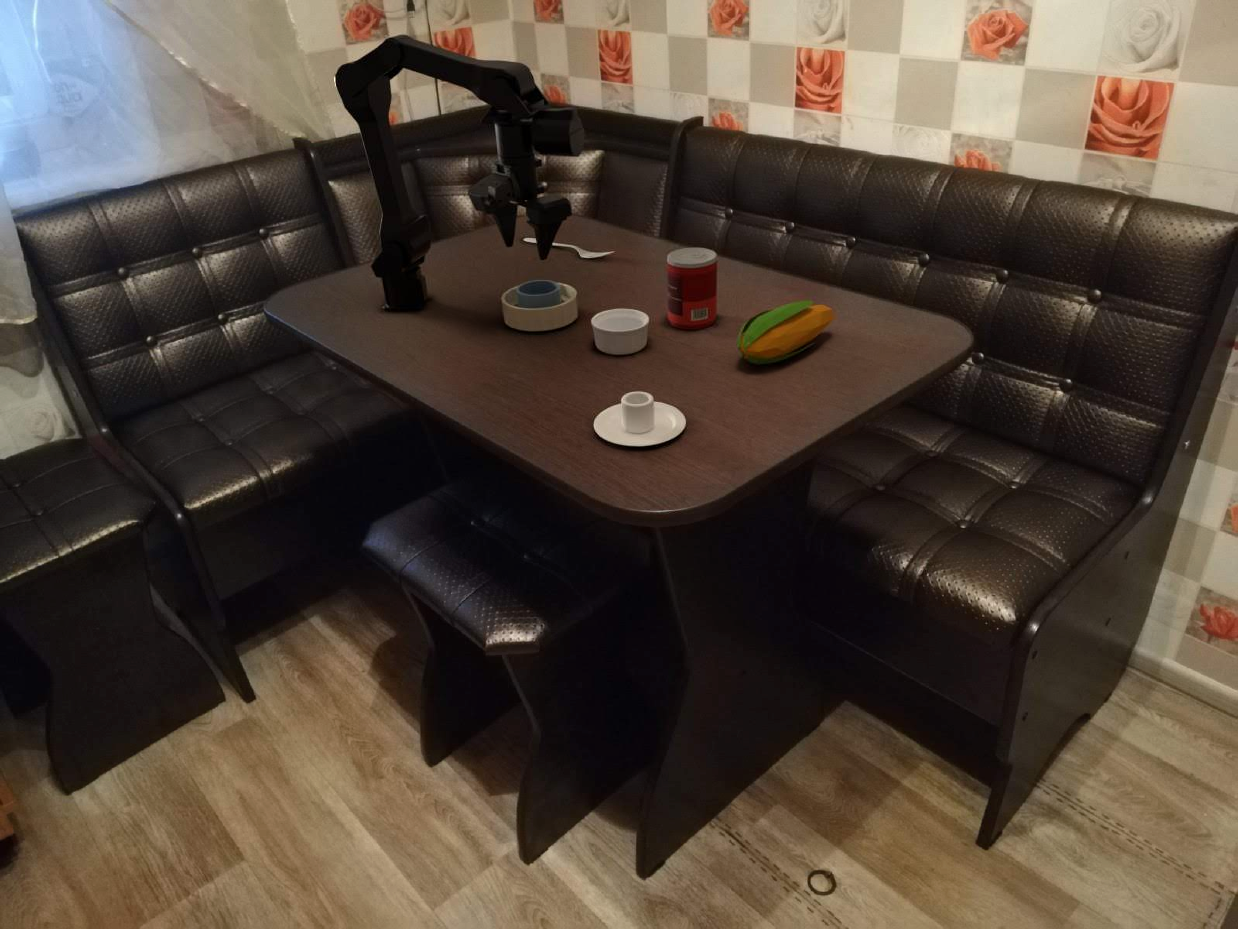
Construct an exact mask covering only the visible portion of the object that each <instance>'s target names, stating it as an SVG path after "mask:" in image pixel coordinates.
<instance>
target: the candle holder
mask: <svg viewBox="0 0 1238 929" xmlns="http://www.w3.org/2000/svg"><path fill="white" fill-rule="evenodd" d="M654 399H655V398H654V396H653V395H652V394H651V393H649V392H645V391H631V392H628V393H625V394H624V395H622V397H621V399H620V403H618V404H615V405H611V406H609V407H608V408H606V409H604V410H602V411H601V412H600V413H599V414H598V415H597V416H596V417H595V418H594V421H593V428H594V431H595V433H597V435H598V436H599V437H600V438H602V439H603V440H605V441H607V442H609V443H612V444H616V445H621V446H627V447H648V446H654V445H659V444H663V443H666V442H668V441H670V440H673V439H675V438H676V437H677V436H679V435H680V434H681V433H682V432H683V431H684V429H685V428H686V425H687V420H686V416H685V414H683V412H682V411H680V410H679V409H678V408H677V407H675V406H673V405H671V404H667V403H664V402H660V401H655V400H654Z"/></svg>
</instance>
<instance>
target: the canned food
mask: <svg viewBox="0 0 1238 929" xmlns="http://www.w3.org/2000/svg"><path fill="white" fill-rule="evenodd" d="M666 258H667V259H666V278H667V279H666V282H667V284H666V286H667V318H668V321H669V323H670V325H671V326H672V327H674V328H677V329H681V330H688V331H690V330H691V331H692V330H694V331H695V330H701V329H705V328H708V327H710V326H711V325H713V324H714V323H715V322H716V318H717V305H718V304H717V303H718V302H717V301H718V300H717V299H718V296H717V295H718V294H717V292H718V255H717V253H716V252H715V251H714V250H712V249H709V248H706V247H683V248H679V249H676V250H672V251H671V252H669V254H667V257H666Z"/></svg>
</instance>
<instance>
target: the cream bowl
mask: <svg viewBox="0 0 1238 929" xmlns="http://www.w3.org/2000/svg"><path fill="white" fill-rule="evenodd" d="M555 282H556V281H555ZM556 283H558V284H559V285H560V291H561V303H562V304H559V305H556V306H552V307H546V308H531V309H528V308H519V307H518V304H517V295H516V289H517V287H518V286H519V285H516V286H514V287H512V288H509V289H508V290H506V291H505V292H503V294H502V295H501V297H500V301H501V309H502V317H503V322H504V323H505V325H507V326H508V327H510V328H512V329H516V330H519V331H524V332H544V331H551V330H556V329H561V328H563V327H566V326H568V325H570V324H572V323H573V322H574V321H576V319H578V317H579V301H578V291H577V290H576V288H574V287H573V286H571V285H569V284H566V283H562V282H556Z"/></svg>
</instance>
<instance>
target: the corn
mask: <svg viewBox="0 0 1238 929" xmlns="http://www.w3.org/2000/svg"><path fill="white" fill-rule="evenodd" d="M813 304H814V301H813V300H801V301H793V302H790V303H787V304H784V305H781V306H779V307H776V308H774V309H770V310H769V309H768V310H765V311H762V312H759V313H758V314H756V315H753V316H752V317H750V318H749V319H748V320H747V321H746V322H745V323H744V324H743V325H742V326H741V327H740V330H739V333H738V335H737V339H736V345H737V347H738V351H739V354H740V356H741V359H743V360H745V361H748V362H749V363H750V364H754V365H758V366H760V365H767V364H774V363H776V362H781V361H784V360H786V359H789V358H790V357H793V356H795V355H798V354H800V353H801V352H803V351H804V350H806V349H808V348H809V347H811V346H813V345H814V344H816V342H812V343H811V344H809V345H807V344H808V343H810V342H811V341H812V340H813V339H815V338H816V337H817V336H818V335H819V334H820V333H822V331H824V330H825V328H827V326H829V325H830V324H831V323H832V322H833V321H834V320H835V310H834V309H832V308H830V307H829V306H827V305H824V304H816V305H813ZM798 349H799V350H798Z"/></svg>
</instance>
